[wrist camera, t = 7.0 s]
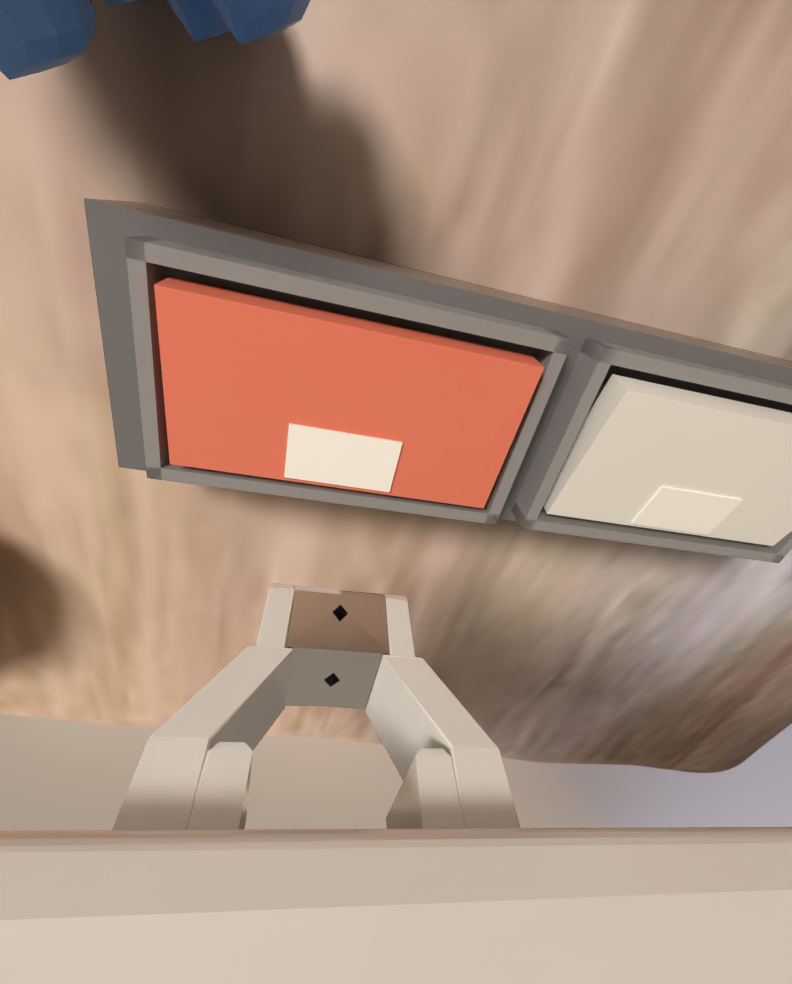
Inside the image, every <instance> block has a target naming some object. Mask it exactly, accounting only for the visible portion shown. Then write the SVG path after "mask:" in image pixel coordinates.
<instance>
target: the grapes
mask: <svg viewBox="0 0 792 984" xmlns="http://www.w3.org/2000/svg"><path fill="white" fill-rule="evenodd" d="M104 1H105V2H106V3H107V5H111V4H115V3H119V2H123V1H124V3H125V4H128V3H131V2H135V1H139V0H104ZM167 2H168V3H169V5H170V6H171V8H172V9H173V11H174V13H175V14H176V16H177V17H178V18H179V20H180V21H181V23H182V24H183V26H184V27H185V29H186V30H187V31H188V33H189V34H190V36H191V37H192V39H193V40H194V41H195V42H197V41H201V40H205V39H209V38H212V37H216V36H219V35H222V34H225V33H228V32H231V33H232V35H233V36H234V38H235V39H236V41H237V42H238V44H239V45H241V44H245V43H249V42H252V41H256V40H260V39H263V38H266V37H269V36H271V35H274V34H276V33H279V32H281V31H283V30H285V29H286V28H288V27H290V26H291V25H293V24H295V23H297V22H298V21H300V20H301V19H302V17H303V15H304V13H305V10H306V8H307V6H308V4H309V2H310V0H167ZM94 36H95V9H94V7H93V5H92V3H91V1H90V0H0V71H1V72H2V73H3V74H4V75H5V76H6V77H7V78H8V79H9V80H11V79H15V78H19V77H23V76H27V75H30V74H34V73H38V72H42V71H45V70H48V69H51V68H54V67H57V66H60V65H63V64H66V63H68V62H69V61H71V60H72V59H74V58H75V57H77V56H78V55H80V54H81V53H82V52H84V51H85V50H86V49H87V47H88V46H89V44H90V43H91V41H92V39H93V38H94Z"/></svg>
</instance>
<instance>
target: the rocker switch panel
mask: <svg viewBox="0 0 792 984" xmlns="http://www.w3.org/2000/svg"><path fill="white" fill-rule="evenodd" d="M84 203H85V211H86V219H87V226H88V234H89V242H90V249H91V257H92V265H93V272H94V280H95V288H96V295H97V303H98V311H99V318H100V326H101V334H102V341H103V349H104V357H105V364H106V372H107V380H108V387H109V395H110V403H111V410H112V418H113V426H114V433H115V441H116V449H117V456H118V464H119V467H123V468H130V469H137V470H144V471H146V472H147V478H151V479H159V480H166V481H174V482H181V483H188V484H196V485H203V486H211V487H218V488H225V489H233V490H240V491H248V492H255V493H263V494H270V495H277V496H285V497H292V498H300V499H307V500H314V501H322V502H329V503H337V504H344V505H352V506H359V507H366V508H374V509H381V510H389V511H396V512H403V513H411V514H418V515H426V516H433V517H441V518H448V519H455V520H463V521H470V522H478V523H485V524H493V525H496V522H497V520H498V519H501V520H508V521H515V522H518V523H519V525H520V527H521V528H522V529H530V530H537V531H544V532H552V533H559V534H567V535H574V536H582V537H589V538H596V539H604V540H611V541H619V542H626V543H633V544H641V545H648V546H656V547H663V548H671V549H678V550H685V551H693V552H700V553H708V554H715V555H722V556H730V557H737V558H745V559H752V560H760V561H767V562H774V563H779V562H780V561H781V560H782V559H783V558H784V557H785V555H786V554H787V553H788V552H789V551H790V550H791V549H792V531H791V532H790V533H789V534H787V535H786V536H785V537H784V538H782V539H781V540H780V541H779V542H777V543H776V544H775V545H774V546H769V545H762V544H755V543H748V542H741V541H734V540H727V539H720V538H713V537H706V536H699V535H692V534H685V533H678V532H671V531H664V530H657V529H650V528H643V527H636V526H629V525H622V524H615V523H608V522H601V521H594V520H587V519H580V518H573V517H566V516H560V515H553V514H547V513H546V511H545V509H544V506H543V505H544V503H545V501H546V499H547V497H548V495H549V493H550V491H551V489H552V487H553V484H554V482H555V480H556V478H557V476H558V474H559V472H560V470H561V468H562V466H563V464H564V462H565V459H566V457H567V455H568V453H569V451H570V449H571V447H572V445H573V443H574V441H575V439H576V436H577V434H578V432H579V430H580V428H581V426H582V424H583V422H584V420H585V418H586V416H587V415H588V413H589V411H590V410H591V408H592V407H593V405H594V403H595V402H596V400H597V398H598V397H599V395H600V394H601V392H602V390H603V389H604V387H605V385H606V384H607V382H608V380H609V379H610V377H611V376H612V374H615V375H619V376H624V377H628V378H633V379H638V380H642V381H647V382H651V383H656V384H661V385H665V386H670V387H675V388H679V389H684V390H688V391H693V392H698V393H702V394H707V395H711V396H716V397H721V398H725V399H730V400H735V401H739V402H744V403H748V404H753V405H758V406H762V407H767V408H771V409H776V410H781V411H785V412H790V413H792V362H791V361H787V360H783V359H779V358H775V357H771V356H767V355H763V354H759V353H755V352H750V351H746V350H742V349H738V348H734V347H730V346H726V345H722V344H718V343H714V342H710V341H705V340H701V339H697V338H693V337H689V336H685V335H681V334H677V333H673V332H669V331H664V330H660V329H656V328H652V327H648V326H644V325H640V324H636V323H632V322H628V321H624V320H619V319H615V318H611V317H607V316H603V315H599V314H595V313H591V312H587V311H583V310H578V309H574V308H570V307H566V306H562V305H558V304H554V303H550V302H546V301H542V300H538V299H533V298H529V297H525V296H521V295H517V294H513V293H509V292H505V291H501V290H497V289H493V288H488V287H484V286H480V285H476V284H472V283H468V282H464V281H460V280H456V279H452V278H447V277H443V276H439V275H435V274H431V273H427V272H423V271H419V270H415V269H411V268H407V267H402V266H398V265H394V264H390V263H386V262H382V261H378V260H374V259H370V258H366V257H361V256H357V255H353V254H349V253H345V252H341V251H337V250H333V249H329V248H325V247H321V246H316V245H312V244H308V243H304V242H300V241H296V240H292V239H288V238H284V237H280V236H275V235H271V234H267V233H263V232H259V231H255V230H251V229H247V228H243V227H239V226H235V225H230V224H226V223H222V222H218V221H214V220H210V219H206V218H202V217H198V216H194V215H190V214H185V213H181V212H177V211H173V210H169V209H165V208H161V207H157V206H153V205H149V204H144V203H138V202H125V201H112V200H99V199H86V198H84ZM168 277H172V278H177V279H182V280H186V281H191V282H195V283H200V284H205V285H209V286H214V287H218V288H223V289H228V290H232V291H237V292H242V293H246V294H251V295H255V296H260V297H265V298H269V299H274V300H278V301H283V302H288V303H292V304H297V305H301V306H306V307H311V308H315V309H320V310H324V311H329V312H334V313H338V314H343V315H347V316H352V317H357V318H361V319H366V320H370V321H375V322H380V323H384V324H389V325H394V326H398V327H403V328H407V329H412V330H417V331H421V332H426V333H430V334H435V335H440V336H444V337H449V338H453V339H458V340H463V341H467V342H472V343H476V344H481V345H486V346H490V347H495V348H499V349H504V350H509V351H513V352H518V353H522V354H527V355H532V356H533V357H534V358H535V359H536V360H537V361H538V362H539V363H540V364H541V365H542V366H543V367H544V370H543V372H542V374H541V377H540V379H539V381H538V384H537V386H536V388H535V390H534V393H533V395H532V397H531V400H530V402H529V404H528V407H527V409H526V411H525V414H524V416H523V418H522V421H521V423H520V425H519V428H518V430H517V432H516V434H515V437H514V439H513V441H512V444H511V446H510V448H509V451H508V453H507V455H506V458H505V460H504V462H503V465H502V467H501V469H500V472H499V474H498V476H497V479H496V481H495V483H494V485H493V488H492V490H491V492H490V495H489V497H488V499H487V502H486V504H485V506H484V508H477V507H470V506H463V505H456V504H449V503H442V502H435V501H428V500H421V499H413V498H406V497H399V496H392V495H385V494H378V493H371V492H364V491H357V490H350V489H343V488H336V487H329V486H322V485H315V484H308V483H301V482H293V481H286V480H279V479H272V478H265V477H258V476H251V475H244V474H237V473H230V472H223V471H216V470H209V469H202V468H195V467H188V466H181V465H173V464H170V460H169V449H168V437H167V426H166V415H165V404H164V392H163V381H162V370H161V358H160V347H159V336H158V325H157V313H156V302H155V291H154V284H156V283H158V282H160V281H162V280H164V279H166V278H168Z"/></svg>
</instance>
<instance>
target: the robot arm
mask: <svg viewBox="0 0 792 984" xmlns="http://www.w3.org/2000/svg"><path fill="white" fill-rule="evenodd" d="M294 591H295V593H294ZM285 706H328V707H341V708H354V709H366V710H365V712H366V714H367V716H368V718H369V719H370V721H371V723H372V725H373V727H374V728H375V730H376V732H377V734H378V736H379V738H380V739H381V741H382V743H383V745H384V747H385V748H386V750H387V752H388V754H389V756H390V758H391V759H392V761H393V763H394V765H395V767H396V768H397V770H398V772H399V774H400V776H401V777H402V779H403V783H402V785H401V787H400V790H399V792H398V794H397V796H396V798H395V800H394V803H393V804H392V807H391V809H390V811H389V813H388V815H387V817H386V825H387V829H259V830H258V829H257V830H256V829H255V830H252V829H251V830H244V829H245V823H246V816H247V805H248V794H249V783H250V773H251V762H252V751H253V750H254V749H255V747H256V746H257V745H258V743H259V742H260V741H261V739H262V738H263V736H264V735H265V734H266V733H267V731H268V730H269V729H270V727H271V726H272V725H273V723H274V722H275V721H276V719H277V718H278V717H279V715H280V714H281V713H282V711H283V710H284V709H285ZM0 984H792V827H705V828H704V827H699V828H698V827H693V828H692V827H689V828H520V824H519V821H518V817H517V813H516V810H515V806H514V802H513V799H512V795H511V792H510V788H509V784H508V781H507V777H506V773H505V770H504V766H503V762H502V758H501V755H500V751H499V749H498V747H497V746H496V745H495V744H494V743H493V741H492V740H491V739H490V738H489V737H488V735H487V734H486V733H485V732H484V731H483V729H482V728H481V727H480V726H479V725H478V723H477V722H476V721H475V720H474V719H473V717H472V716H471V715H470V714H469V713H468V711H467V710H466V709H465V708H464V707H463V705H462V704H461V703H460V702H459V701H458V700H457V698H456V697H455V696H454V695H453V694H452V692H451V691H450V690H449V689H448V688H447V686H446V685H445V684H444V683H443V682H442V680H441V679H440V678H439V677H438V676H437V674H436V673H435V672H434V671H433V670H432V668H431V667H430V666H429V665H428V664H427V662H426V661H425V660H424V659H423V658H419V657H416V654H415V647H414V640H413V633H412V626H411V619H410V613H409V606H408V599H407V598H406V596H399V595H388V594H384V595H383V594H376V593H365V592H354V591H342V590H340V591H339V590H330V589H322V588H314V587H306V586H298V585H296V587H295V586H294V585H286V584H278V583H271V586H270V588H269V592H268V596H267V600H266V605H265V609H264V613H263V618H262V622H261V626H260V631H259V635H258V640H257V644H256V646H252V645H248V646H247V647H246V648H245V649H244V650H243V651H242V652H241V653H240V654H239V655H238V656H237V657H235V658H234V659H233V660H232V661H231V662H230V663H229V664H228V665H227V666H226V667H225V668H223V669H222V670H221V671H220V672H219V673H218V674H217V675H216V676H215V677H214V678H213V679H212V680H210V681H209V682H208V683H207V684H206V685H205V686H204V687H203V688H202V689H201V690H200V691H199V692H197V693H196V694H195V695H194V696H193V697H192V698H191V699H190V700H189V701H188V702H187V703H186V704H184V705H183V706H182V707H181V708H180V709H179V710H178V711H177V712H176V713H175V714H174V715H173V716H171V717H170V718H169V719H168V720H167V721H166V722H165V723H164V724H163V725H162V726H161V727H160V728H158V730H156V731H155V732H154V733H153V734H152V735H151V736H150V737H149V739H148V742H147V744H146V747H145V749H144V752H143V754H142V757H141V759H140V762H139V764H138V767H137V769H136V772H135V774H134V777H133V779H132V782H131V784H130V787H129V789H128V792H127V794H126V797H125V799H124V802H123V804H122V807H121V809H120V812H119V814H118V817H117V819H116V822H115V824H114V827H113V829H112V830H59V831H58V830H56V831H55V830H49V831H0Z"/></svg>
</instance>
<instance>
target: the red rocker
mask: <svg viewBox="0 0 792 984" xmlns="http://www.w3.org/2000/svg"><path fill="white" fill-rule="evenodd" d="M154 291H155V302H156V313H157V325H158V336H159V347H160V358H161V370H162V381H163V392H164V404H165V415H166V426H167V437H168V449H169V460H170V464H173V465H181V466H188V467H195V468H202V469H209V470H216V471H223V472H230V473H237V474H244V475H251V476H258V477H265V478H272V479H279V480H286V481H293V482H301V483H308V484H315V485H322V486H329V487H336V488H343V489H350V490H357V491H364V492H371V493H378V494H385V495H392V496H399V497H406V498H413V499H421V500H428V501H435V502H442V503H449V504H456V505H463V506H470V507H477V508H484V506H485V504H486V502H487V499H488V497H489V495H490V492H491V490H492V488H493V485H494V483H495V481H496V479H497V476H498V474H499V472H500V469H501V467H502V465H503V462H504V460H505V458H506V455H507V453H508V451H509V448H510V446H511V444H512V441H513V439H514V437H515V434H516V432H517V430H518V428H519V425H520V423H521V421H522V418H523V416H524V414H525V411H526V409H527V407H528V404H529V402H530V400H531V397H532V395H533V393H534V390H535V388H536V386H537V384H538V381H539V379H540V377H541V374H542V372H543V370H544V367H543V366H542V365H541V364H540V363H539V362H538V361H537V360H536V359H535V358H534V357H533V356H532V355H527V354H522V353H518V352H513V351H509V350H504V349H499V348H495V347H490V346H486V345H481V344H476V343H472V342H467V341H463V340H458V339H453V338H449V337H444V336H440V335H435V334H430V333H426V332H421V331H417V330H412V329H407V328H403V327H398V326H394V325H389V324H384V323H380V322H375V321H370V320H366V319H361V318H357V317H352V316H347V315H343V314H338V313H334V312H329V311H324V310H320V309H315V308H311V307H306V306H301V305H297V304H292V303H288V302H283V301H278V300H274V299H269V298H265V297H260V296H255V295H251V294H246V293H242V292H237V291H232V290H228V289H223V288H218V287H214V286H209V285H205V284H200V283H195V282H191V281H186V280H182V279H177V278H172V277H168V278H166V279H164V280H162V281H160V282H158V283H156V284H154Z"/></svg>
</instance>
